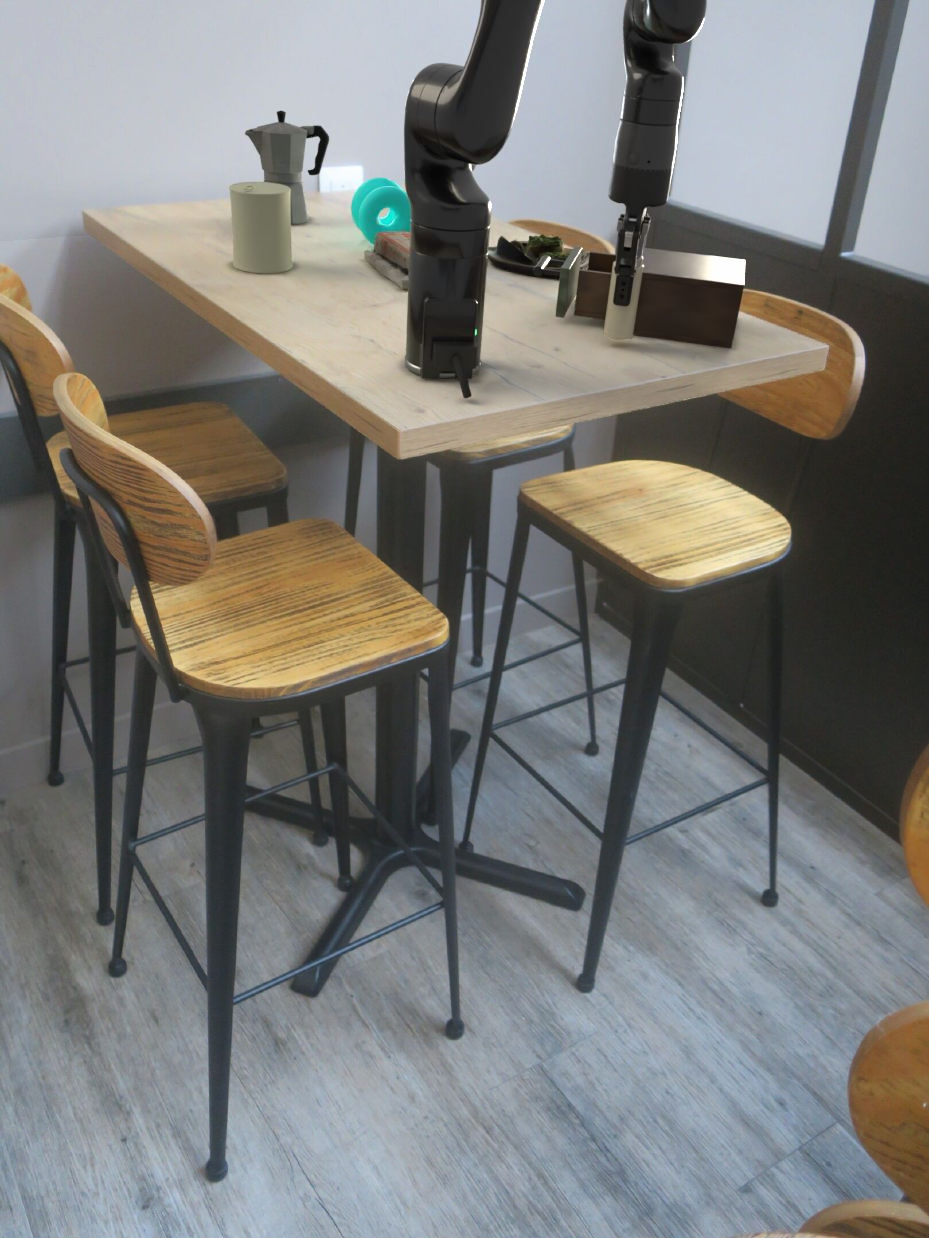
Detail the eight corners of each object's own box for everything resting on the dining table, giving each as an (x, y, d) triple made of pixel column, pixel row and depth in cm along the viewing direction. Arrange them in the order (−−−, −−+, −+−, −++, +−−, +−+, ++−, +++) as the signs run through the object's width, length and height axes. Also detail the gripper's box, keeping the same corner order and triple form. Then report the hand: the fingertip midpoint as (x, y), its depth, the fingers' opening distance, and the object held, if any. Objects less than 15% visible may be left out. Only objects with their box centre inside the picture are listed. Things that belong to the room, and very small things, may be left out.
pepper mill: (636, 340, 140) (650, 250, 133) (607, 339, 139) (620, 249, 133) (628, 330, 143) (641, 242, 137) (600, 330, 142) (612, 241, 136)
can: (220, 266, 162) (215, 184, 155) (257, 255, 169) (254, 175, 162) (269, 277, 158) (266, 193, 152) (304, 265, 165) (303, 184, 159)
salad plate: (516, 243, 187) (519, 216, 185) (609, 260, 181) (613, 232, 178) (467, 264, 172) (469, 235, 170) (566, 283, 166) (570, 254, 164)
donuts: (360, 250, 175) (360, 187, 170) (349, 236, 183) (349, 175, 178) (417, 250, 178) (420, 188, 172) (405, 236, 186) (407, 176, 180)
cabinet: (625, 334, 146) (635, 271, 141) (635, 306, 158) (644, 247, 153) (731, 348, 144) (744, 285, 139) (733, 319, 156) (745, 259, 151)
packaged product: (362, 229, 168) (420, 227, 171) (362, 260, 170) (418, 258, 174) (402, 258, 154) (464, 255, 158) (401, 291, 157) (462, 288, 160)
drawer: (525, 313, 148) (530, 264, 145) (541, 289, 159) (546, 243, 156) (650, 329, 145) (658, 280, 142) (657, 304, 157) (665, 257, 153)
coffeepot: (257, 227, 185) (253, 115, 175) (241, 215, 192) (235, 106, 182) (338, 223, 191) (338, 115, 182) (320, 211, 198) (319, 107, 188)
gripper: (669, 174, 123) (646, 319, 132) (676, 156, 134) (655, 290, 144) (606, 167, 124) (588, 311, 133) (618, 149, 136) (601, 283, 145)
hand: (623, 299), depth 138 cm, fingers closed on pepper mill, 4 cm apart
